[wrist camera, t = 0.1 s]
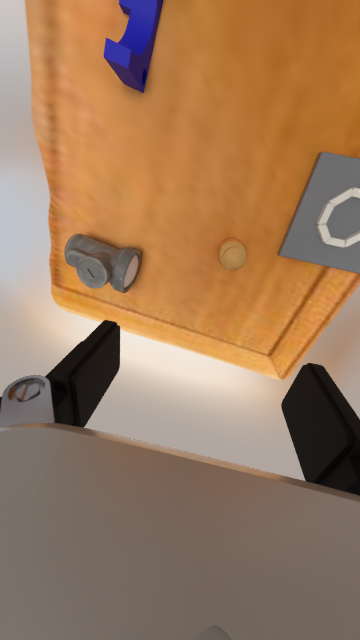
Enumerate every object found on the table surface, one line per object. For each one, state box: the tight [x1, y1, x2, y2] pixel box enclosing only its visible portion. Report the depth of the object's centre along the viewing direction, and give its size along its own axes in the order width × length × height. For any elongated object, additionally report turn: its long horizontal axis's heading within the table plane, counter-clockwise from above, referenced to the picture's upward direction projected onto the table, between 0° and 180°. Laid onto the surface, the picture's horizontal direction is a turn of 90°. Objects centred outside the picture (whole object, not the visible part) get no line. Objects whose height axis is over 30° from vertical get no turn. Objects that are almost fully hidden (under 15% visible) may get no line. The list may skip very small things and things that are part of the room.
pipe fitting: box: [65, 234, 141, 293], centre depth 36 cm, size 12×8×10 cm
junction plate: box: [278, 152, 360, 273], centre depth 31 cm, size 14×14×2 cm
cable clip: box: [104, 0, 163, 93], centre depth 23 cm, size 12×4×6 cm, turn 158°
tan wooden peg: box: [219, 238, 247, 270], centre depth 34 cm, size 4×4×8 cm
